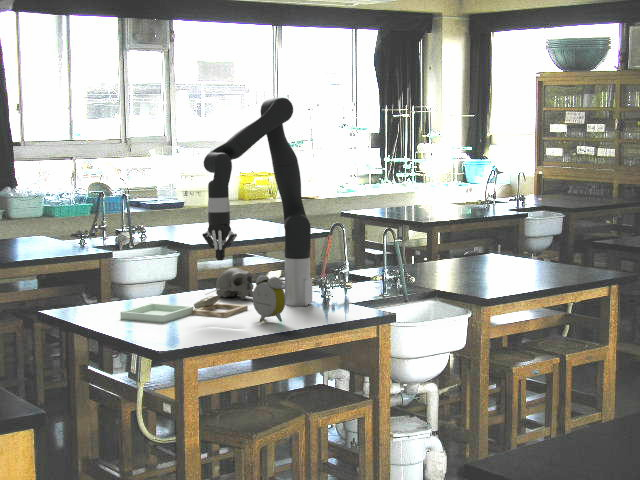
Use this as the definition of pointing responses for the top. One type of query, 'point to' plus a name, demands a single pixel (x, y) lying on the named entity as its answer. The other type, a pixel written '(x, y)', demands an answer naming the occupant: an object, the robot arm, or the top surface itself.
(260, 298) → the alarm clock
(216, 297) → the cuneiform tablet
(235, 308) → the frame
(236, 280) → the skull
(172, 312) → the tray
